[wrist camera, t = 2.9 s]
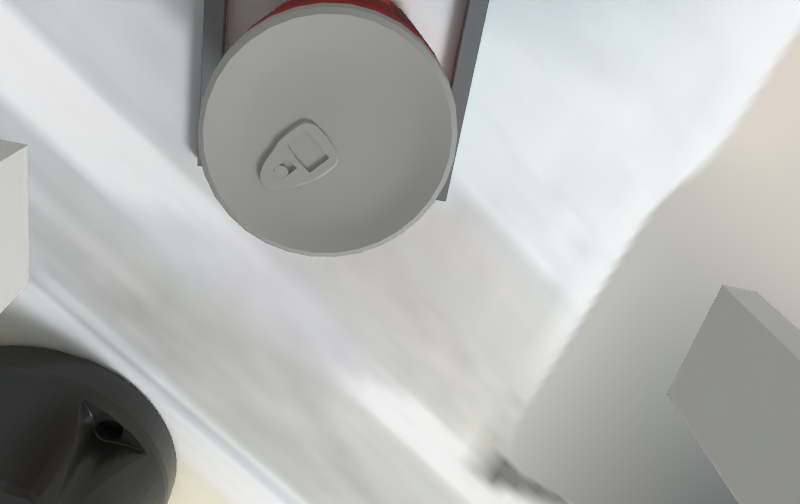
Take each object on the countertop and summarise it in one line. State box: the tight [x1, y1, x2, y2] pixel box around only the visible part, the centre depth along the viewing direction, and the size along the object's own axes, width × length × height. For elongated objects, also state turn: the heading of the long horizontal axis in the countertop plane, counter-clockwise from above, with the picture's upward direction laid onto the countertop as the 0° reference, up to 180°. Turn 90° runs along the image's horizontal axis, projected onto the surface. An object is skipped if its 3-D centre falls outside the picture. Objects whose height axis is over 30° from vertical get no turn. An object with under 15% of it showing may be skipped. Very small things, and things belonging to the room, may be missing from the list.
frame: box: [198, 0, 489, 201], centre depth 29 cm, size 12×10×1 cm
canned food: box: [197, 0, 458, 257], centre depth 24 cm, size 8×8×11 cm
